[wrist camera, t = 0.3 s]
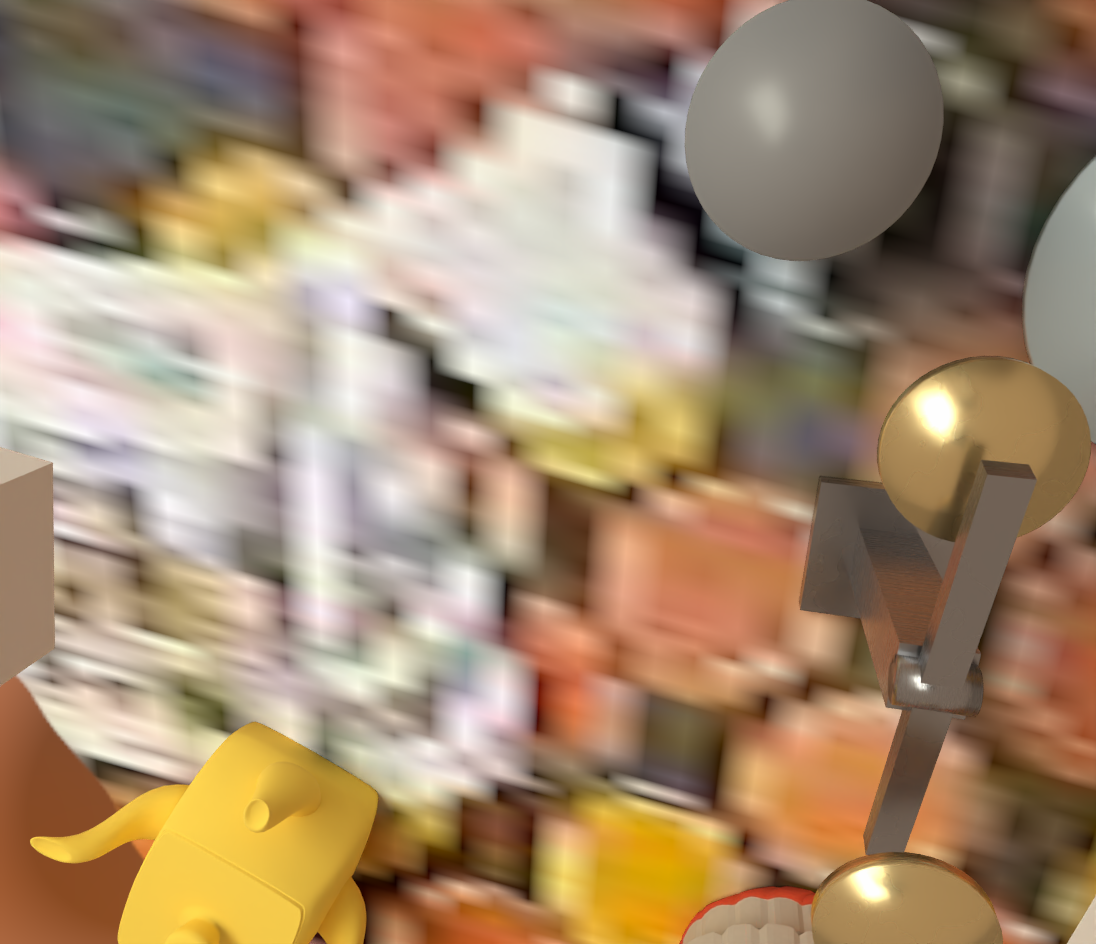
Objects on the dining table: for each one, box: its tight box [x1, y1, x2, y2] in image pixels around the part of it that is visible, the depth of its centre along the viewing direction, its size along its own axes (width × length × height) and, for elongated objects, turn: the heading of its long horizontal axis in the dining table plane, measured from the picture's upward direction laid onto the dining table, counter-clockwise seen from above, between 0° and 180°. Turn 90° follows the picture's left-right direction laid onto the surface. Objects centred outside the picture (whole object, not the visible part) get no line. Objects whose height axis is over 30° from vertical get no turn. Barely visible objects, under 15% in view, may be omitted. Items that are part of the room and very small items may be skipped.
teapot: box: [30, 722, 378, 944], centre depth 44 cm, size 15×14×10 cm
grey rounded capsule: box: [685, 0, 943, 261], centre depth 28 cm, size 7×7×9 cm
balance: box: [799, 356, 1091, 944], centre depth 30 cm, size 21×6×13 cm, turn 177°
